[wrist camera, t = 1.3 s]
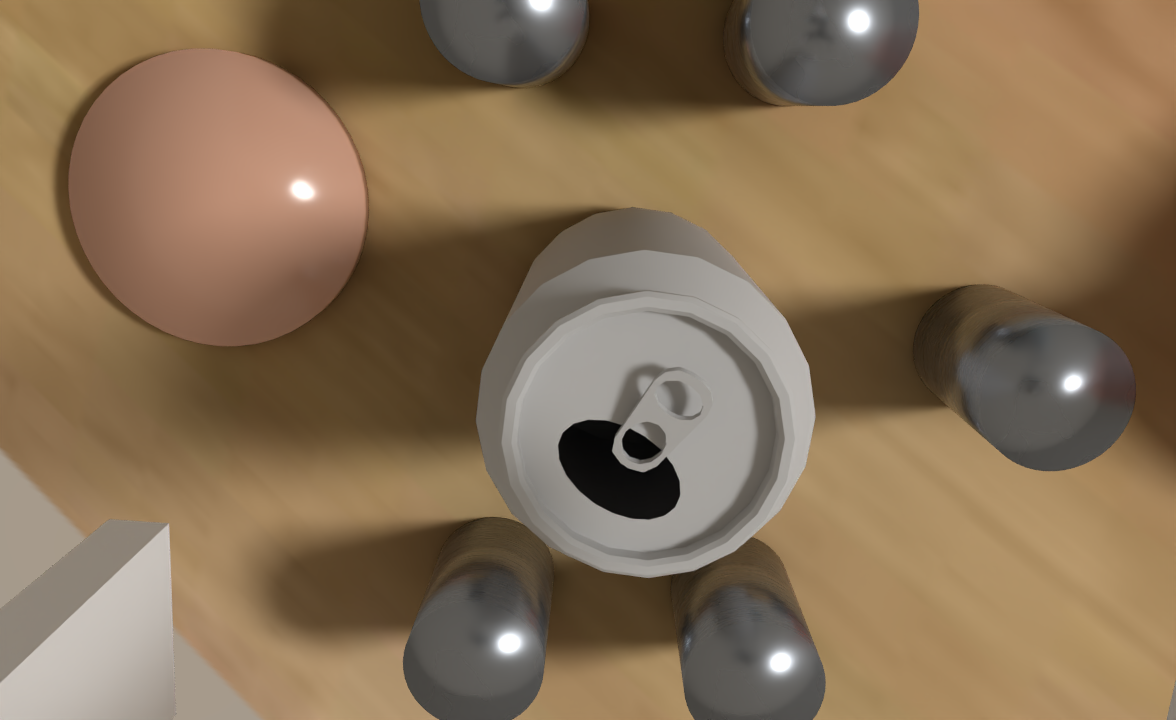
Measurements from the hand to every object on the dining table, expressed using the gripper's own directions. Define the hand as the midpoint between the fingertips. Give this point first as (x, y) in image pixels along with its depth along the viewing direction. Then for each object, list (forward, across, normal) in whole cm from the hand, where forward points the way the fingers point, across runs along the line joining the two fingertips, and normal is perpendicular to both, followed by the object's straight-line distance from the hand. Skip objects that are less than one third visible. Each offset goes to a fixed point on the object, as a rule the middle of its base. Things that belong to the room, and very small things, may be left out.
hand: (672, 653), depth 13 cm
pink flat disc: (+20, -13, +3) cm, 24 cm away
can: (+20, 0, 0) cm, 20 cm away
